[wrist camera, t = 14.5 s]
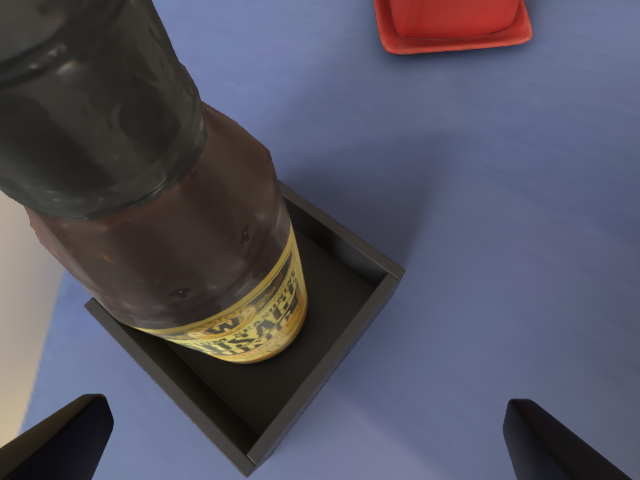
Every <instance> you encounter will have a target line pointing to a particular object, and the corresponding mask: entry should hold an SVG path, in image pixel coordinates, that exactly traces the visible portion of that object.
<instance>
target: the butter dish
mask: <svg viewBox="0 0 640 480" xmlns="http://www.w3.org/2000/svg"><path fill="white" fill-rule="evenodd" d="M374 6H375V11H376V18H377V25H378V31H379V35H380V39H381V42H382V45H383V47H384V48H385V50H386V51H387V52H388V53H390V54H397V55H402V54H419V53H432V52H443V51H456V50H469V49H480V48H491V47H501V46H509V45H517V44H522V43H525V42H527V41H529V40H530V39H531V38H532V35H533V32H532V27H531V23H530V20H529V16H528V13H527V10H526V6H525V3H524V0H374Z"/></svg>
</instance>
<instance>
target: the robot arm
mask: <svg viewBox="0 0 640 480" xmlns="http://www.w3.org/2000/svg"><path fill="white" fill-rule="evenodd" d="M113 425H114V420H113V416H112V413H111V410H110V408H109V405H108V402H107V399H106V397H105V396H104V395H103V394H84V395H82V396H80V397H79V398H77V399H76V400H74V401H72V402H71V403H69V404H68V405H66V406H65V407H63V408H62V409H60V410H58V411H57V412H55V413H54V414H52V415H51V416H49V417H48V418H46V419H45V420H43V421H41V422H40V423H38V424H37V425H35V426H34V427H32V428H31V429H29V430H27V431H26V432H24V433H23V434H21V435H20V436H18V437H17V438H15V439H14V440H12V441H11V442H9V443H8V444H6V445H4V446H3V447H1V448H0V480H92V477H93V475H94V473H95V470H96V468H97V466H98V463H99V461H100V459H101V456H102V454H103V452H104V449H105V447H106V444H107V442H108V440H109V437H110V435H111V433H112V430H113ZM503 434H504V439H505V442H506V445H507V448H508V451H509V455H510V458H511V461H512V464H513V467H514V471H515V474H516V477H517V480H632V479H631V478H629V477H628V476H627V475H626V474H624V473H623V472H622V471H621V470H619V469H618V468H617V467H616V466H614V465H613V464H612V463H611V462H609V461H608V460H607V459H606V458H604V457H603V456H602V455H601V454H599V453H598V452H597V451H596V450H594V449H593V448H592V447H591V446H589V445H588V444H587V443H585V442H584V441H583V440H582V439H580V438H579V437H578V436H577V435H575V434H574V433H573V432H572V431H570V430H569V429H568V428H567V427H565V426H564V425H563V424H562V423H560V422H559V421H558V420H557V419H555V418H554V417H553V416H552V415H550V414H549V413H548V412H547V411H545V410H544V409H543V408H541V407H540V406H539V405H538V404H536V403H535V402H534V401H532V400H530V399H511V400H510V401H509V402H508V405H507V410H506V414H505V419H504V424H503Z"/></svg>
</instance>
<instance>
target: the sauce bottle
mask: <svg viewBox="0 0 640 480" xmlns="http://www.w3.org/2000/svg"><path fill="white" fill-rule="evenodd" d="M0 190H1V191H2V192H4V193H5V194H6V195H7V196H8V197H10V198H12V199H14V200H15V201H17V202H18V203H20V204H22V205H23V206H24V207H25V210H26V212H27V214H28V216H29V219H30V224H31V227H32V228H33V229H34V230H35V233H36V235H37V237H38V239H39V241H40V242H41V244H42V245H43V246H44V247H45V248H46V249H47V250H48V251H49V252H50V253H51V254H52V255H53V256H54V257H55V258H56V259H57V260H58V261H59V262H60V263H61V264H62V265H63V266H64V267H65V268H66V269H67V270H68V271H69V272H70V273H71V274H72V275H73V276H74V277H75V278H76V279H77V280H78V281H79V282H80V283H81V285H82V286H83V287H84V288H85V289H86V290H87V291H88V292H89V293H90V294H91V295H92V296H93V297H94V298H95V299H96V300H97V301H98V302H99V303H100V304H101V305H102V306H103V307H104V308H105V309H106V310H107V311H108V312H109V313H110V314H111V315H112V316H113V317H114V318H115V319H117V320H118V321H120V322H121V323H124V324H126V325H129V326H131V327H134V328H137V329H139V330H141V331H144V332H146V333H148V334H151V335H155V336H158V337H161V338H164V339H165V340H169V341H171V342H175V343H177V344H179V345H183V346H184V347H187V348H192V349H194V350H197V351H200V352H203V353H206V354H208V355H211V356H214V357H216V358H219V359H222V360H225V361H228V362H232V363H239V364H250V363H257V362H261V361H264V360H267V359H271V358H274V357H276V356H277V355H278V354H280V353H281V352H282V351H283V350H285V349H286V348H287V347H288V346H289V345H290V344H291V343H292V342H293V341H294V340H295V338H296V337H297V335H298V334H299V333H300V332H301V330H302V328H303V325H304V321H305V318H306V314H307V309H308V296H307V290H306V286H305V281H304V277H303V272H302V267H301V261H300V257H299V252H298V248H297V244H296V239H295V235H294V231H293V228H292V224H291V220H290V216H289V214H288V211H287V208H286V205H285V202H284V199H283V196H282V192H281V189H280V186H279V182H278V179H277V176H276V172H275V169H274V165H273V162H272V158H271V155H270V152H269V150H268V149H267V148H266V147H265V146H264V145H263V144H261V143H260V142H259V141H258V140H256V139H255V138H254V137H253V136H252V135H251V134H249V133H248V132H247V131H246V130H245V129H244V128H243V127H241V126H240V125H239V124H238V123H237V122H236V121H234V120H232V119H231V118H229V117H228V116H226V115H224V114H223V113H221V112H219V111H217V110H216V109H214V108H212V107H211V106H209V105H207V104H206V103H204V102H202V101H201V99H200V95H199V92H198V89H197V87H196V85H195V83H194V81H193V80H192V78H191V76H190V75H189V73H188V71H187V69H186V68H185V66H183V65H182V64H181V63H180V62H179V60H178V58H177V56H176V54H175V51H174V49H173V47H172V44H171V42H170V39H169V37H168V34H167V32H166V30H165V28H164V26H163V24H162V21H161V19H160V17H159V15H158V13H157V11H156V9H155V7H154V5H153V2H152V0H0Z"/></svg>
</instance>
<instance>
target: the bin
mask: <svg viewBox="0 0 640 480" xmlns="http://www.w3.org/2000/svg"><path fill="white" fill-rule="evenodd" d="M278 182H279V186H280V189H281V192H282V196H283V199H284V202H285V205H286V208H287V211H288V214H289V216H290V220H291V224H292V228H293V231H294V235H295V239H296V244H297V248H298V252H299V257H300V261H301V267H302V272H303V277H304V281H305V286H306V290H307V296H308V309H307V314H306V318H305V321H304V325H303V328H302V330H301V332H300V333H299V334H298V335H297V337H296V338H295V340H294V341H293V342H292V343H291V344H290V345H289V346H288V347H287V348H286V349H285V350H283V351H282V352H281V353H280V354H278V355H277V356H276V357H274V358H271V359H267V360H264V361H261V362H257V363H250V364H239V363H232V362H228V361H225V360H222V359H219V358H216V357H214V356H211V355H208V354H206V353H203V352H200V351H197V350H194V349H192V348H187V347H184V346H183V345H179V344H177V343H175V342H171V341H169V340H165V339H164V338H161V337H158V336H155V335H151V334H148V333H146V332H144V331H141V330H139V329H137V328H134V327H131V326H129V325H126V324H124V323H121V322H120V321H118V320H117V319H115V318H114V317H113V316H112V315H111V314H110V313H109V312H108V311H107V310H106V309H105V308H104V307H103V306H102V305H101V304H100V303H99V302H98V301H97V300H96V299H95V298H91V299H90V300H89V301H88V302H87V303H86V304H85V305H84V307H85V308H86V309H87V310H88V311H89V313H90V314H91V315H92V316H93V317H94V318H95V319H96V320H97V321H98V322H99V323H100V324H101V325H102V326H103V327H104V328H105V330H106V331H107V332H108V333H109V334H110V335H111V336H112V337H113V338H114V339H115V340H116V341H117V342H118V343H119V344H120V345H121V347H122V348H123V349H124V350H125V351H126V352H127V353H128V354H129V355H130V356H131V357H132V358H133V359H134V360H135V361H136V362H137V363H138V365H139V366H140V367H141V368H142V369H143V370H144V371H145V372H146V373H147V374H148V375H149V376H150V377H151V378H152V379H153V380H154V382H155V383H156V384H157V385H158V386H159V387H160V388H161V389H162V390H163V391H164V392H165V393H166V394H167V395H168V396H169V397H170V398H171V400H172V401H173V402H174V403H175V404H176V405H177V406H178V407H179V408H180V409H181V410H182V411H183V412H184V413H185V414H186V415H187V417H188V418H189V419H190V420H191V421H192V422H193V423H194V424H195V425H196V426H197V427H198V428H199V429H200V430H201V431H202V432H203V434H204V435H205V436H206V437H207V438H208V439H209V440H210V441H211V442H212V443H213V444H214V445H215V446H216V447H217V448H218V449H219V450H220V452H221V453H222V454H223V455H224V456H225V457H226V458H227V459H228V460H229V461H230V462H231V463H232V464H233V465H234V466H235V467H236V469H237V470H238V471H239V472H240V473H241V474H242V475H243V476H244V477H245V478H247V477H249V476H250V475H251V474H252V473H253V472H254V471H255V470H256V469H257V468H258V467H260V466H261V465H262V464H263V463H264V462H265V461H266V460H267V459H268V458H269V457H270V456H271V454H272V453H273V452H274V450H275V449H276V448H277V446H278V445H279V444H280V442H281V441H282V440H283V439H284V437H285V436H286V435H287V433H288V432H289V431H290V429H291V428H292V427H293V425H294V424H295V423H296V421H297V420H298V419H299V417H300V416H301V415H302V414H303V412H304V411H305V410H306V408H307V407H308V406H309V404H310V403H311V402H312V400H313V399H314V398H315V396H316V395H317V394H318V392H319V391H320V390H321V389H322V387H323V386H324V385H325V383H326V382H327V381H328V379H329V378H330V377H331V375H332V374H333V373H334V371H335V370H336V369H337V368H338V366H339V365H340V364H341V362H342V361H343V360H344V358H345V357H346V356H347V354H348V353H349V352H350V350H351V349H352V348H353V346H354V345H355V344H356V343H357V341H358V340H359V339H360V337H361V336H362V335H363V333H364V332H365V331H366V329H367V328H368V327H369V325H370V324H371V323H372V322H373V320H374V319H375V318H376V316H377V315H378V314H379V312H380V311H381V310H382V308H383V307H384V306H385V304H386V303H387V302H388V300H389V299H390V298H391V297H392V295H393V294H394V292H395V290H396V288H397V286H398V284H399V282H400V280H401V279H402V277H403V275H404V273H405V270H404V269H403V268H401V267H400V266H399V265H397V264H396V263H394V262H393V261H392V260H390V259H389V258H387V257H386V256H384V255H383V254H382V253H380V252H379V251H377V250H376V249H375V248H373V247H372V246H370V245H369V244H368V243H366V242H365V241H363V240H362V239H361V238H359V237H358V236H356V235H355V234H354V233H352V232H351V231H349V230H348V229H346V228H345V227H344V226H342V225H341V224H339V223H338V222H337V221H335V220H334V219H332V218H331V217H330V216H328V215H327V214H325V213H324V212H323V211H321V210H320V209H318V208H317V207H316V206H314V205H313V204H311V203H310V202H308V201H307V200H306V199H304V198H303V197H301V196H300V195H299V194H297V193H296V192H294V191H293V190H292V189H290V188H289V187H287V186H286V185H285V184H283V183H282V182H280V181H279V180H278Z"/></svg>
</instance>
